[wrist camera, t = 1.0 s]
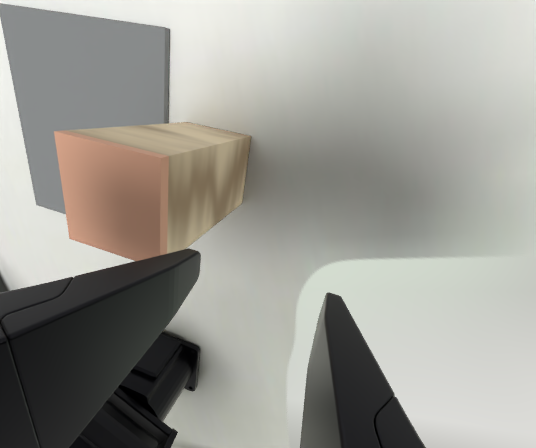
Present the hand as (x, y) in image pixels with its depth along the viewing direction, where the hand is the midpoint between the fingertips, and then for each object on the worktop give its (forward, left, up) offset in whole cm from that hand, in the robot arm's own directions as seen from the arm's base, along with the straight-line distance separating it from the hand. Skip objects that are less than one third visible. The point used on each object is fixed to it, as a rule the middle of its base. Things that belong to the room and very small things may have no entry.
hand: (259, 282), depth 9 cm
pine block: (0, +7, -12) cm, 14 cm away
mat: (0, +18, -12) cm, 22 cm away
